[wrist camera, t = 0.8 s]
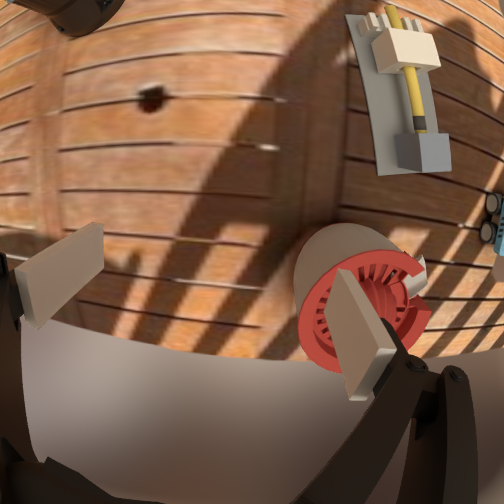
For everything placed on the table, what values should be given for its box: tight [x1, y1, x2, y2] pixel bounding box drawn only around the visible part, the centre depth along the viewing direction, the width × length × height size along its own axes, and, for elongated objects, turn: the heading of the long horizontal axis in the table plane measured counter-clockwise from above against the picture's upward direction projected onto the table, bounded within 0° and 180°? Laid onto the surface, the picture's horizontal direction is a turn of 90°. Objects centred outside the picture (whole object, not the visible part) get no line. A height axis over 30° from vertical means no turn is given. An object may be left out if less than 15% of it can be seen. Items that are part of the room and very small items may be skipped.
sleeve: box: [371, 28, 441, 75], centre depth 27 cm, size 5×7×7 cm
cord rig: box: [345, 5, 451, 176], centre depth 29 cm, size 26×12×8 cm, turn 10°
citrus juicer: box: [293, 223, 432, 373], centre depth 33 cm, size 16×17×20 cm
